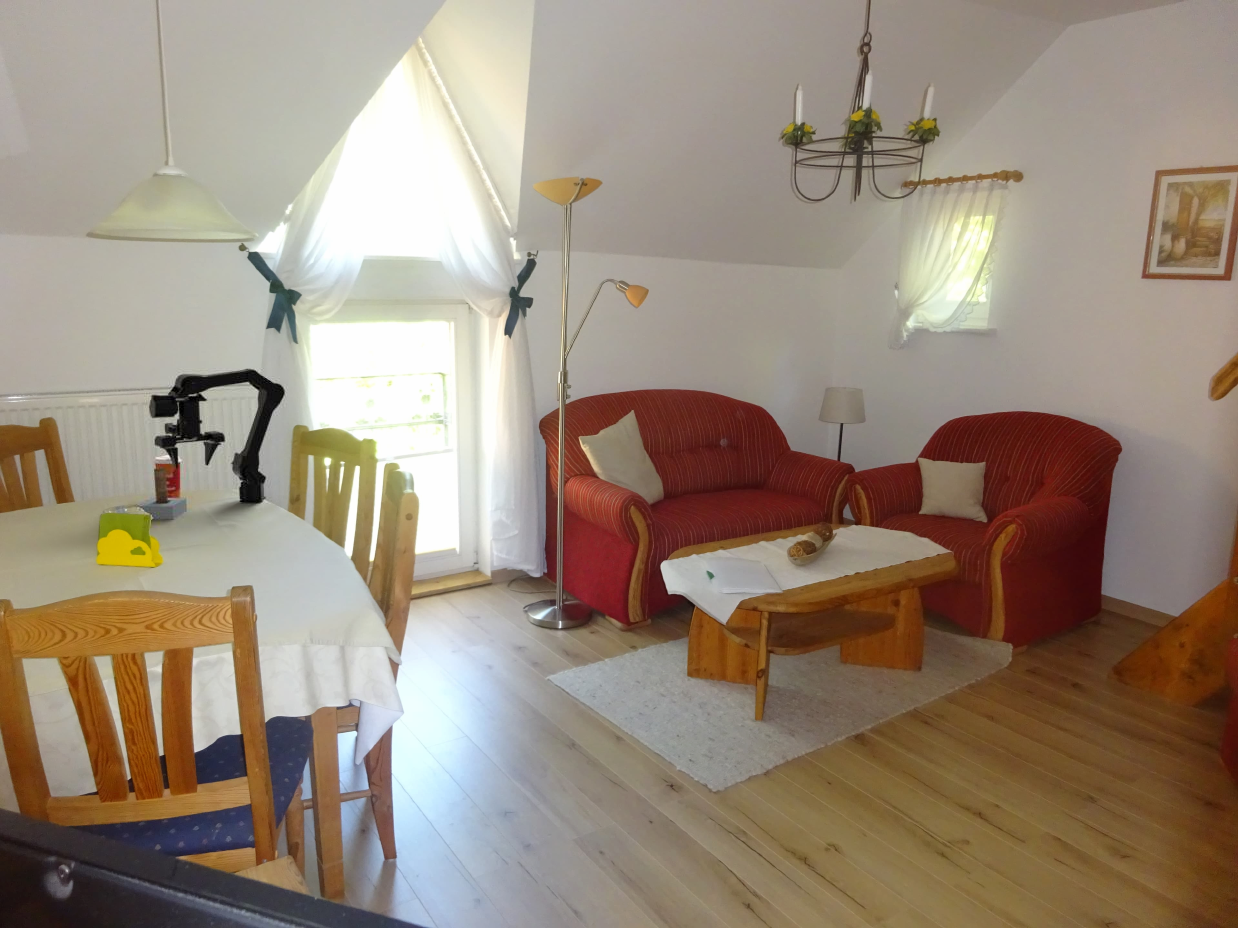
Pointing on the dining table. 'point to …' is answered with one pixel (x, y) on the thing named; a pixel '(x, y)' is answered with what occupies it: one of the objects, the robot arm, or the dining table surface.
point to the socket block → (165, 508)
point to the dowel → (160, 486)
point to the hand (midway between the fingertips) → (191, 466)
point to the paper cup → (170, 475)
